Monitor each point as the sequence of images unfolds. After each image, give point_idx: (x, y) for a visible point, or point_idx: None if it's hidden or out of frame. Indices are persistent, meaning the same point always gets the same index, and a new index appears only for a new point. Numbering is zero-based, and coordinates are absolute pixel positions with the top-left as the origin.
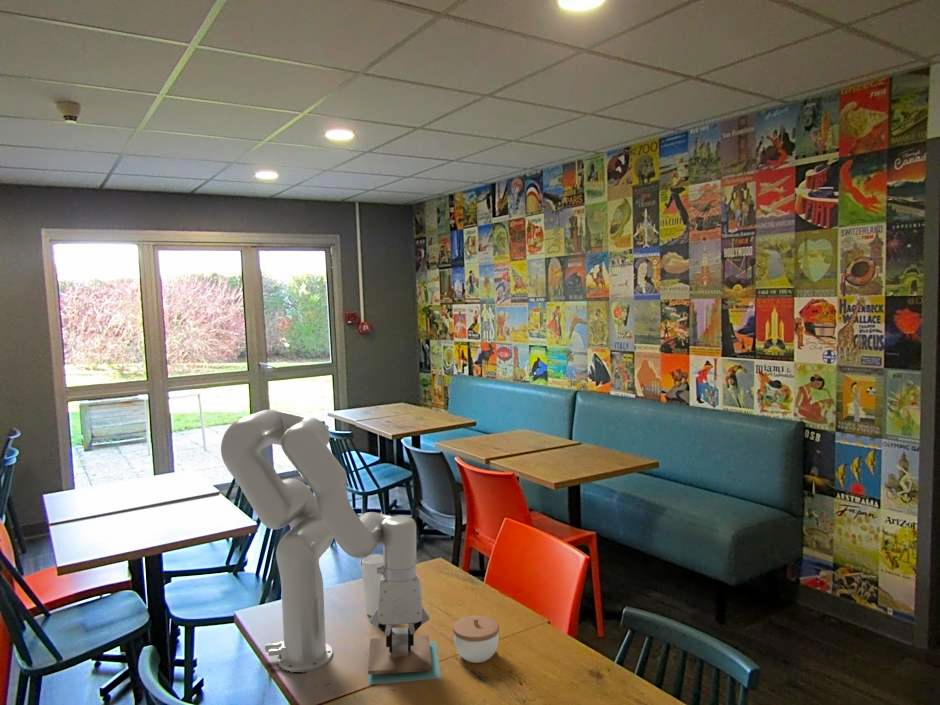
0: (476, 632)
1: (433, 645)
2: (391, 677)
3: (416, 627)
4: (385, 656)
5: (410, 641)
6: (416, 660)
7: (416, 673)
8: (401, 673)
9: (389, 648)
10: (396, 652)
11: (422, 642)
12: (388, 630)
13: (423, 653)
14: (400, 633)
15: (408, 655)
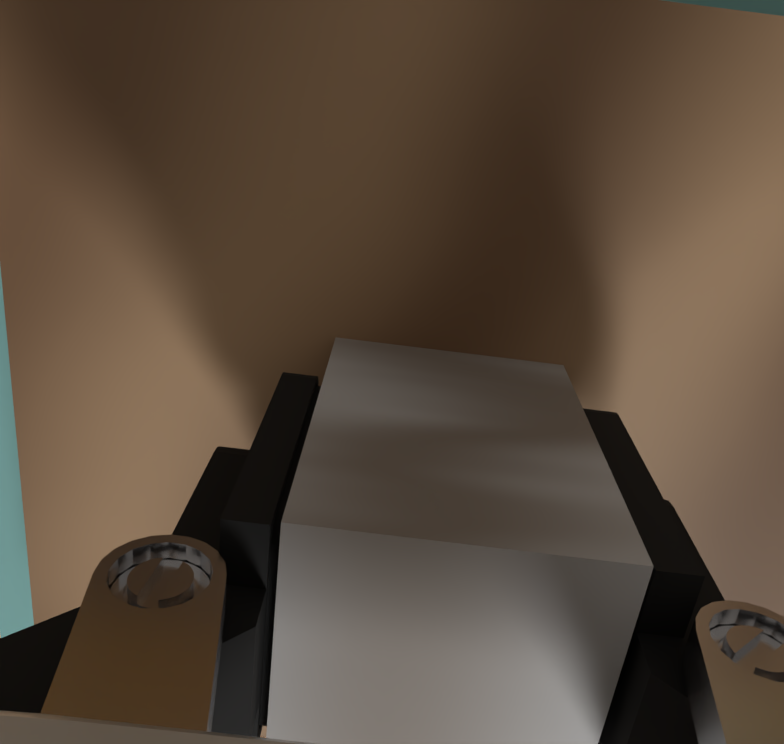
0: None
1: (30, 596)
2: None
3: (25, 665)
4: (652, 394)
5: (255, 444)
6: (219, 184)
7: None
8: None
9: (626, 439)
10: (507, 381)
11: None
12: (766, 695)
13: (108, 349)
14: (444, 606)
15: (326, 347)
